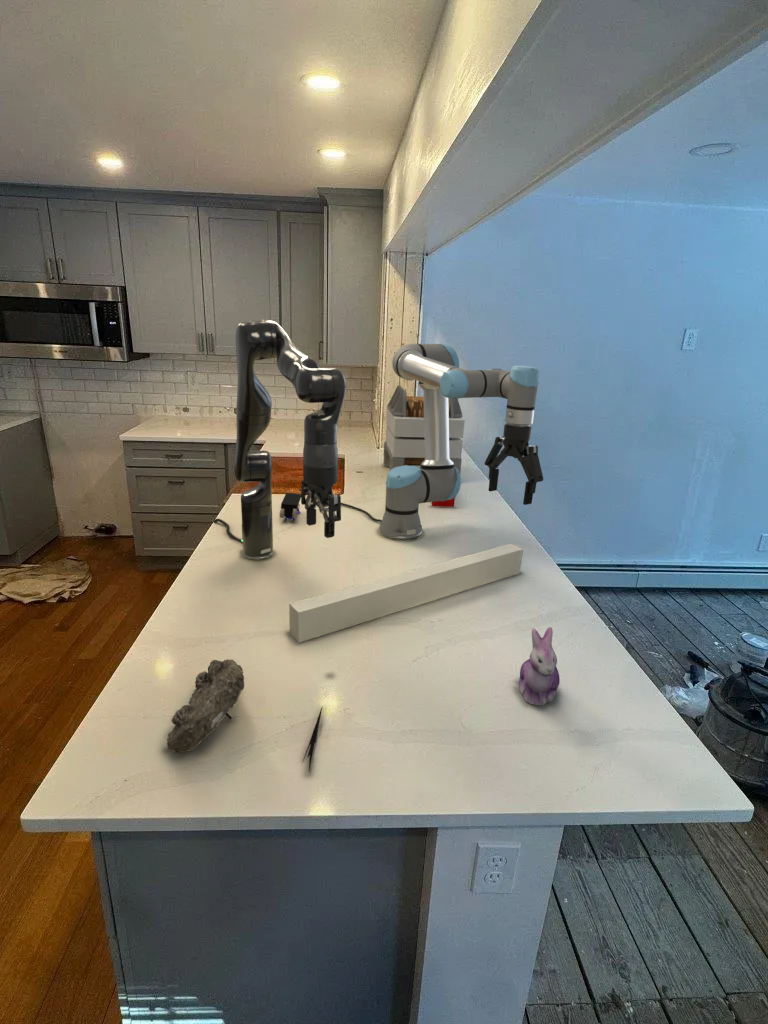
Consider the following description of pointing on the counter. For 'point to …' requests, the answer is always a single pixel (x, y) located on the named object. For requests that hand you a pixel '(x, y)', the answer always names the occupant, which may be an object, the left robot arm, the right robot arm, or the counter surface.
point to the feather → (313, 740)
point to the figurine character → (290, 506)
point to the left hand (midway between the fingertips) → (320, 530)
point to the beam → (400, 592)
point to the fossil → (206, 705)
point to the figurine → (540, 671)
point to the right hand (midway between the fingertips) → (509, 497)
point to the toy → (444, 503)
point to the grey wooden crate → (416, 431)
